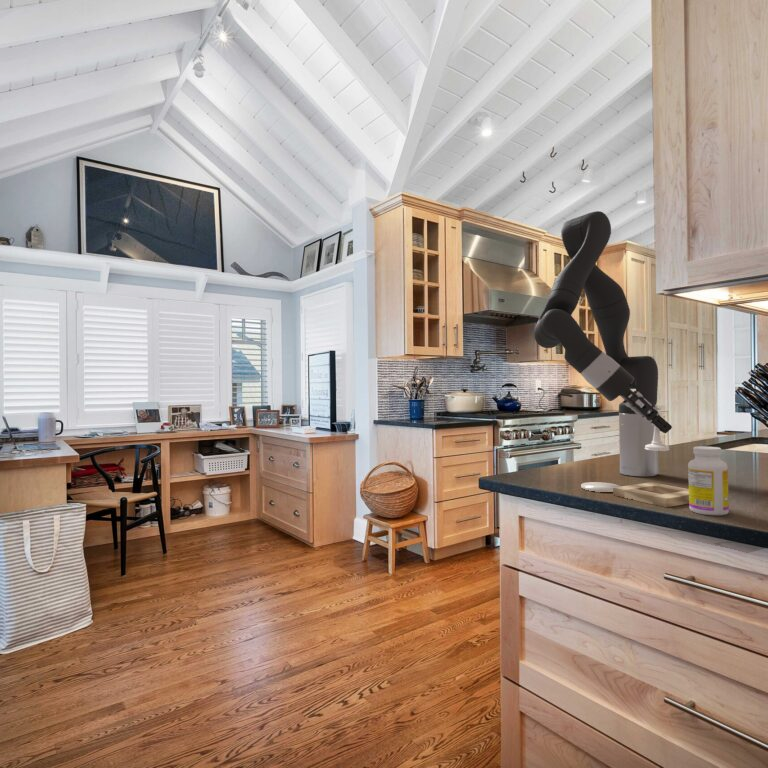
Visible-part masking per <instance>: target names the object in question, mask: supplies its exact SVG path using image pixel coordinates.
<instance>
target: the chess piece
mask: <svg viewBox="0 0 768 768" xmlns="http://www.w3.org/2000/svg"><path fill="white" fill-rule="evenodd" d="M654 409H655V410H657V411H658V414H659V415H660V416H661V417H662V413H661V412H659V411H661V409H662V407H659V405H658V404H656V405H655V408H654ZM651 425H654V424H653V423H652V424H651ZM661 437H662V436H661V431H660V430H659V429H658V428H657V427H656V426H655V425H654V435H653V441H652V443H651V444H648V445H646V446H645V449H646V450H652V451H658V452H667V451H670V446H668V445H667V444H664V443H663V441H662V438H661Z"/></svg>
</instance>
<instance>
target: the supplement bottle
mask: <svg viewBox="0 0 768 768" xmlns="http://www.w3.org/2000/svg"><path fill="white" fill-rule="evenodd" d="M692 452H693V454H694V459H693V458H692V459H691V460H689V462H688V464H687V466H688V468H687V471H688V472H687V473H688V476H687V477H688V489H689V503H688V504H689V506H688V507H689V510H690V511H691V512H693V513H696V514H699V515H705V516H718V517H719V516H726V515H727V514H729V512H730V511H729V510H730V504H729V502H730V501H729V499H730V498H729V473H728V472H729V470H728V469H729V467H728V464H727V463H726V462H725V461H724V460H722V459H721V456H722V448H721V447H719V446H718V447H717V446H702V445H701V446H693V451H692Z"/></svg>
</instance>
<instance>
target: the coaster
mask: <svg viewBox="0 0 768 768" xmlns="http://www.w3.org/2000/svg"><path fill="white" fill-rule="evenodd" d="M614 487H621V485H619V484H615V483H611V482H601V481H590V482H589V481H588V482H582V483H581V485H580V488H581V489H582V488H583V489H585V490H584V491H586V490H589V491H588V492H591V491H595V492H594V493H600V492H613V488H614ZM583 489H582V490H583Z"/></svg>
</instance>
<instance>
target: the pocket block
mask: <svg viewBox="0 0 768 768" xmlns="http://www.w3.org/2000/svg"><path fill="white" fill-rule="evenodd" d="M620 486H621V485H620ZM612 495H615V496H614V497H618V496H620V497H619V498H622V497H624V498H623V499H627V498H628V500H631V499H633V500H632V501H636V502H640V503H645V504H649V505H654V506H659V507H663V508H670V507H677V506H682V505H688V504H689V488H684V487H679V486H674V485H668V484H662V483H657V482H653V481H650V482H643V483H638V484H636V483H635V484H630V485H623V486H621V487H614V488H613V493H612Z"/></svg>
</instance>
